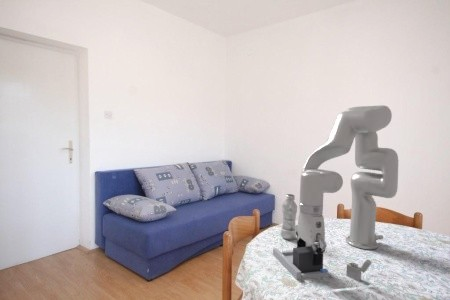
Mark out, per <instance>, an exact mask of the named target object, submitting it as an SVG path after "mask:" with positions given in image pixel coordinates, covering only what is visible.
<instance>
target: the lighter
mask: <svg viewBox="0 0 450 300" xmlns="http://www.w3.org/2000/svg"><path fill="white" fill-rule="evenodd" d="M372 263H373V262H372V261H371V260H370V259H366V260H365V261H364V263H363V264H362V265H361V267H359V264H358V263H356V262H353V261H351V262H348V263H347V264H346V277H348V278H351V279H353V280H355V281H358V282H360V281H361V280H362V273H363V274H364V273H365V272H367V270H368V269H369V267H370V266H372Z"/></svg>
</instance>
